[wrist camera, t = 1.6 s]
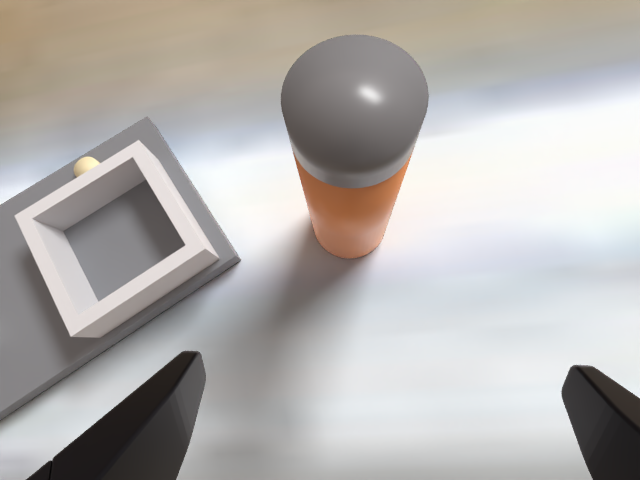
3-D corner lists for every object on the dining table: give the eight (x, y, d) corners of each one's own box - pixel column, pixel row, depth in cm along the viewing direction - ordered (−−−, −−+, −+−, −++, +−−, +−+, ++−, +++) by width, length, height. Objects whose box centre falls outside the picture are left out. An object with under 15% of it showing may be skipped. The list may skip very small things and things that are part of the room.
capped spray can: (340, 272, 24) (335, 189, 11) (299, 215, 25) (253, 83, 12) (400, 231, 24) (459, 107, 12) (357, 177, 25) (369, 12, 13)
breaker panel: (-114, 496, 22) (-204, 525, 18) (-164, 320, 25) (-249, 315, 21) (241, 259, 24) (223, 245, 21) (155, 126, 27) (127, 93, 24)
